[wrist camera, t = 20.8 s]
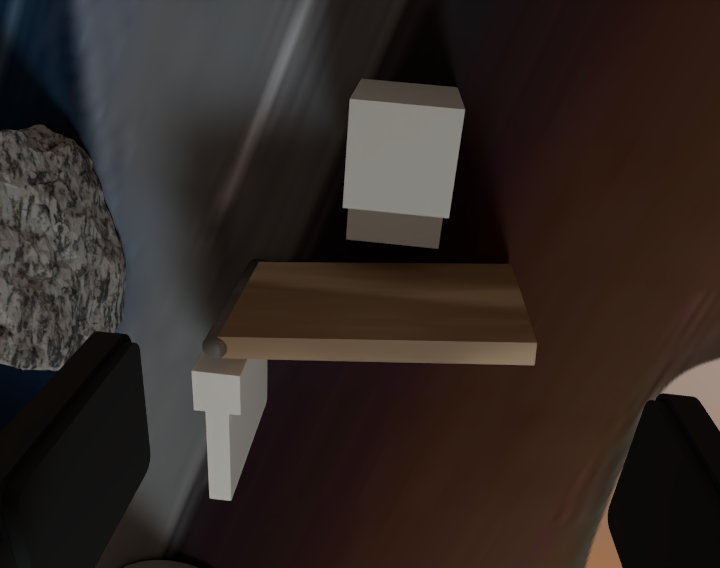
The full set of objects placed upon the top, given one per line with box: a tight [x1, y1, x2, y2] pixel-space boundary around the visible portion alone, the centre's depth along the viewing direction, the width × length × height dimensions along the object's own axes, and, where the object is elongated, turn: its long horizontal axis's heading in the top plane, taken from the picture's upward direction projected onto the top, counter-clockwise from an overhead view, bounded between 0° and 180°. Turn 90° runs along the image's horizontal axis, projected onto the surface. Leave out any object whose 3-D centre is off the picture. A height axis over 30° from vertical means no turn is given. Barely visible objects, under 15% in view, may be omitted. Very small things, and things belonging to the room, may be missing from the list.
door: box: [202, 259, 537, 365], centre depth 33 cm, size 3×16×9 cm, turn 92°
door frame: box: [192, 350, 267, 501], centre depth 31 cm, size 2×33×9 cm, turn 176°
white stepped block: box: [343, 79, 465, 249], centre depth 31 cm, size 8×5×6 cm, turn 176°
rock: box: [0, 125, 126, 371], centre depth 34 cm, size 16×8×10 cm, turn 168°
